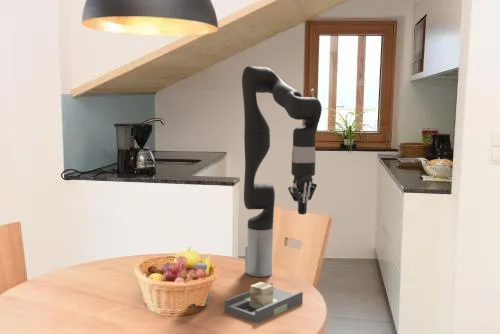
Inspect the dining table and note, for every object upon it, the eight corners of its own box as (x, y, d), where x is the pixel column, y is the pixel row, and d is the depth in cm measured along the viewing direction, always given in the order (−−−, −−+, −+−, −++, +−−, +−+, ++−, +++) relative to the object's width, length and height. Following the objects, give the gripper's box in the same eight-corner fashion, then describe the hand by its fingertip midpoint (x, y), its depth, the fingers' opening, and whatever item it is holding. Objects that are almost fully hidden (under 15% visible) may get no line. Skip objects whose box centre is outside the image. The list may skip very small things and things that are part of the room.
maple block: (250, 301, 166) (250, 285, 165) (260, 297, 170) (260, 281, 169) (262, 305, 163) (263, 289, 162) (273, 301, 166) (273, 285, 166)
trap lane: (224, 311, 163) (224, 300, 163) (270, 292, 180) (270, 282, 179) (257, 323, 155) (257, 311, 154) (302, 302, 171) (302, 291, 171)
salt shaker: (206, 308, 165) (206, 267, 163) (188, 306, 166) (188, 265, 165) (211, 301, 171) (211, 261, 169) (193, 300, 172) (194, 260, 170)
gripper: (305, 158, 180) (304, 209, 182) (281, 161, 170) (280, 215, 172) (324, 159, 175) (323, 212, 177) (301, 163, 165) (299, 218, 167)
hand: (302, 213), depth 175 cm, fingers closed
